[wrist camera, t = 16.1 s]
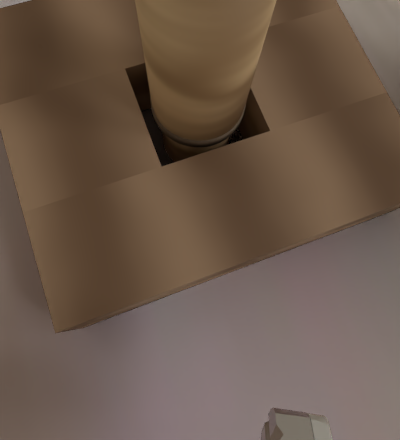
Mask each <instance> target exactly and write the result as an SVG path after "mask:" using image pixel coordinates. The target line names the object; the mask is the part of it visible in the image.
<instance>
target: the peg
mask: <svg viewBox="0 0 400 440" xmlns="http://www.w3.org/2000/svg"><path fill="white" fill-rule="evenodd" d="M276 1H277V0H135V4H136V10H137V16H138V22H139V28H140V34H141V40H142V47H143V53H144V59H145V65H146V71H147V77H148V83H149V90H150V102H151V108H152V114H153V117H154V120H155V122H156V124H157V125H158V127H159V128H160V130H161V131H162V136H163V143H164V148H165V150H166V152H167V154H168V156H169V157H170V158H171V159H172V160H173V161H174V162H177V161H180V160H183V159H186V158H189V157H192V156H195V155H198V154H201V153H204V152H208V151H211V150H214V149H217V148H220V147H223V146H226V145H228V142H229V138H230V136H231V135H232V134H233V133H234V132H235V131H236V129H237V128H238V126H239V125H240V123H241V120H242V118H243V114H244V111H245V107H246V101H247V97H248V94H249V91H250V87H251V84H252V81H253V77H254V74H255V71H256V67H257V64H258V61H259V57H260V54H261V51H262V47H263V44H264V41H265V37H266V34H267V31H268V27H269V24H270V21H271V17H272V14H273V11H274V7H275V4H276Z"/></svg>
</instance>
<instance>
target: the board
mask: <svg viewBox="0 0 400 440" xmlns="http://www.w3.org/2000/svg"><path fill="white" fill-rule="evenodd" d="M150 108H151V102H150V90H149V83H148V77H147V71H146V65H145V59H144V53H143V47H142V40H141V34H140V28H139V22H138V16H137V10H136V4H135V0H31V1H27V2H23V3H19V4H15V5H11V6H7V7H4V8H0V130H1V134H2V138H3V141H4V145H5V149H6V152H7V156H8V160H9V163H10V167H11V171H12V175H13V178H14V182H15V186H16V189H17V193H18V197H19V200H20V204H21V208H22V212H23V215H24V219H25V223H26V226H27V230H28V234H29V237H30V241H31V245H32V249H33V252H34V256H35V260H36V263H37V267H38V271H39V274H40V278H41V282H42V286H43V289H44V293H45V297H46V300H47V304H48V308H49V311H50V315H51V319H52V323H53V326H54V330H55V333H58V332H64V331H69V330H75V329H80V328H84V327H87V326H89V325H92V324H95V323H97V322H100V321H103V320H105V319H108V318H111V317H113V316H116V315H119V314H121V313H124V312H127V311H129V310H132V309H134V308H137V307H140V306H142V305H145V304H148V303H150V302H153V301H156V300H158V299H161V298H164V297H166V296H169V295H171V294H174V293H177V292H179V291H182V290H185V289H187V288H190V287H193V286H195V285H198V284H201V283H203V282H206V281H209V280H211V279H214V278H216V277H219V276H222V275H224V274H227V273H230V272H232V271H235V270H238V269H240V268H243V267H246V266H248V265H251V264H253V263H256V262H259V261H261V260H264V259H267V258H269V257H272V256H275V255H277V254H280V253H283V252H285V251H288V250H291V249H293V248H296V247H298V246H301V245H304V244H306V243H309V242H312V241H314V240H317V239H320V238H322V237H325V236H328V235H330V234H333V233H335V232H338V231H341V230H343V229H346V228H349V227H351V226H354V225H357V224H359V223H362V222H365V221H367V220H370V219H373V218H375V217H378V216H380V215H383V214H386V213H388V212H391V211H393V210H395V209H397V208H400V115H399V113H398V111H397V110H396V108H395V106H394V104H393V102H392V101H391V99H390V97H389V95H388V93H387V92H386V90H385V88H384V86H383V84H382V83H381V81H380V79H379V77H378V75H377V74H376V72H375V70H374V68H373V66H372V65H371V63H370V61H369V59H368V57H367V56H366V54H365V52H364V50H363V48H362V47H361V45H360V43H359V41H358V39H357V37H356V36H355V34H354V32H353V30H352V28H351V27H350V25H349V23H348V21H347V19H346V18H345V16H344V14H343V12H342V10H341V9H340V7H339V5H338V3H337V1H336V0H277V1H276V4H275V7H274V11H273V14H272V17H271V21H270V24H269V27H268V31H267V34H266V37H265V41H264V44H263V47H262V51H261V54H260V57H259V61H258V64H257V67H256V71H255V74H254V77H253V81H252V84H251V87H250V91H249V94H248V97H247V101H246V107H245V111H244V114H243V118H242V120H241V123H240V125H239V126H238V128H239V130H240V133H241V135H242V137H243V140H241V141H238V142H235V143H232V144H229V145H226V146H223V147H220V148H217V149H214V150H211V151H208V152H204V153H201V154H198V155H195V156H192V157H189V158H186V159H183V160H180V161H177V162H174V163H171V164H168V165H165V166H162V167H161V164H160V161H159V159H158V156H157V153H156V150H155V148H154V145H153V142H152V140H151V137H150V134H149V132H148V129H147V126H146V124H145V121H144V118H143V116H142V113H141V111H143V110H146V109H150Z"/></svg>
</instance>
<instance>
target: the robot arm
mask: <svg viewBox="0 0 400 440" xmlns="http://www.w3.org/2000/svg"><path fill="white" fill-rule="evenodd" d="M268 416H269V421H268V422H266V423H264V426H263V429H262V433H261V440H333V439H332V435H331V430H330V426H329V422H328V420H327V418H326V417H325V416H321V415H315V414H309V413H305V412H298V411H292V410H285V409H278V408H272V409H270V412H269V414H268Z"/></svg>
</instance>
